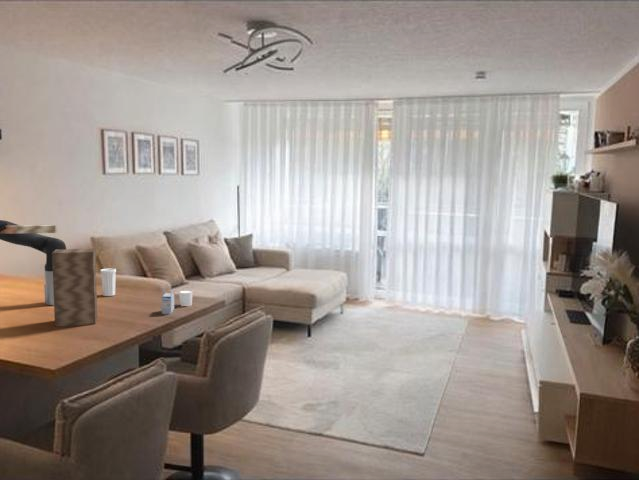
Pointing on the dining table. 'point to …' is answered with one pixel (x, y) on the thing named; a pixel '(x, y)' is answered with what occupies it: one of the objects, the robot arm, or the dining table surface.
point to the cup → (108, 281)
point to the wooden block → (30, 229)
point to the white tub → (185, 298)
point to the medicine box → (167, 303)
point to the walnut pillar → (74, 287)
